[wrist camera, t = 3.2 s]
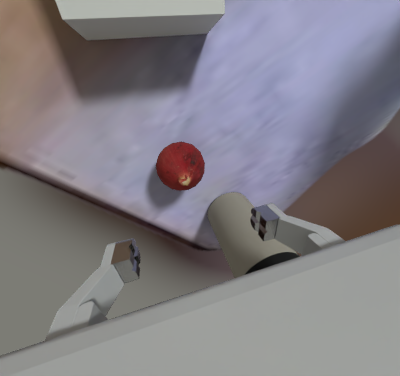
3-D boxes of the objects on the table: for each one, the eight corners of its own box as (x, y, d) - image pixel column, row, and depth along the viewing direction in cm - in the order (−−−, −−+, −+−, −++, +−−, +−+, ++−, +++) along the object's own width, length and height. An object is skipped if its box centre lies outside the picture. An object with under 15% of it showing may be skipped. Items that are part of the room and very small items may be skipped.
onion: (174, 126, 21) (183, 140, 14) (204, 153, 24) (225, 176, 17) (147, 160, 22) (144, 188, 16) (179, 182, 25) (189, 214, 18)
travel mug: (198, 213, 29) (247, 342, 14) (231, 182, 28) (327, 288, 12) (224, 232, 33) (285, 348, 18) (254, 206, 32) (349, 308, 16)
